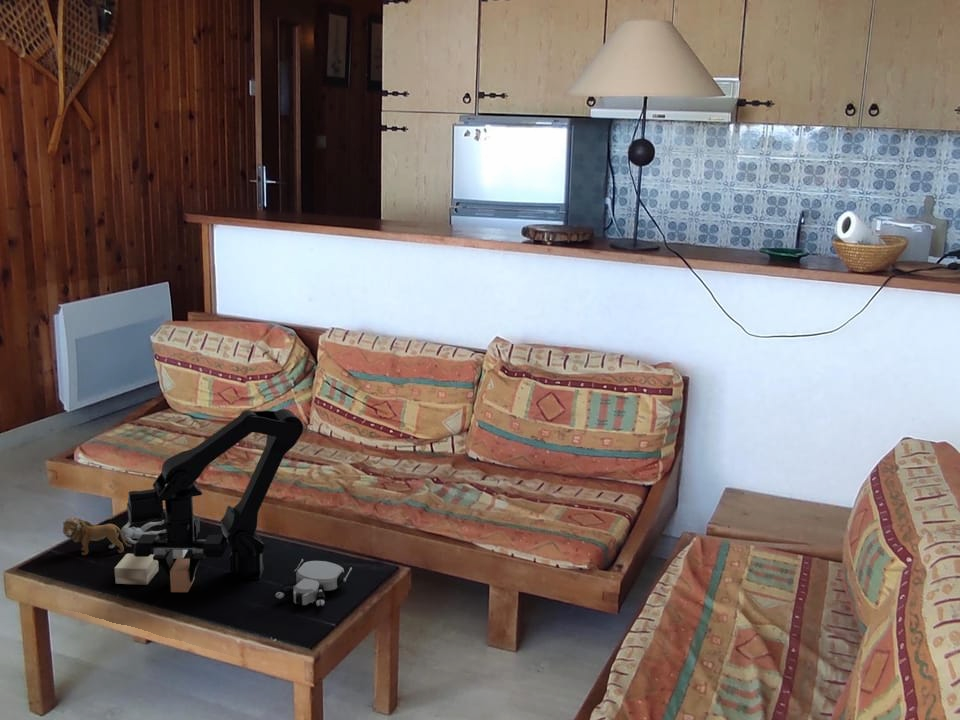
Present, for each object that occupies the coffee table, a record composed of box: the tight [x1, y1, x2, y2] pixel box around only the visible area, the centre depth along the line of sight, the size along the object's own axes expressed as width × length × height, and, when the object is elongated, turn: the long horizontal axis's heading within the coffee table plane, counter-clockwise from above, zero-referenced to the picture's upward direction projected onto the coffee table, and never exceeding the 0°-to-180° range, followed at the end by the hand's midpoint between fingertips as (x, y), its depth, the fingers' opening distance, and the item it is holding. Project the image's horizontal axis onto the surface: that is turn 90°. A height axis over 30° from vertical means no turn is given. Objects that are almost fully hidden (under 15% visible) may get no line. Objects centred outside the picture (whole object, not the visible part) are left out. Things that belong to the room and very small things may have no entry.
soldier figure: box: [117, 519, 167, 545], centre depth 225 cm, size 8×5×12 cm
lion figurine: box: [62, 517, 133, 556], centre depth 217 cm, size 15×5×9 cm, turn 110°
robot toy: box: [275, 558, 353, 607], centre depth 203 cm, size 12×4×15 cm
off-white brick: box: [165, 538, 189, 559], centre depth 219 cm, size 4×6×5 cm, turn 3°
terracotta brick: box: [169, 558, 196, 593], centre depth 203 cm, size 4×6×5 cm, turn 3°
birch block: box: [114, 553, 159, 586], centre depth 207 cm, size 7×7×4 cm
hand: (182, 581), depth 204 cm, fingers closed on terracotta brick, 4 cm apart
